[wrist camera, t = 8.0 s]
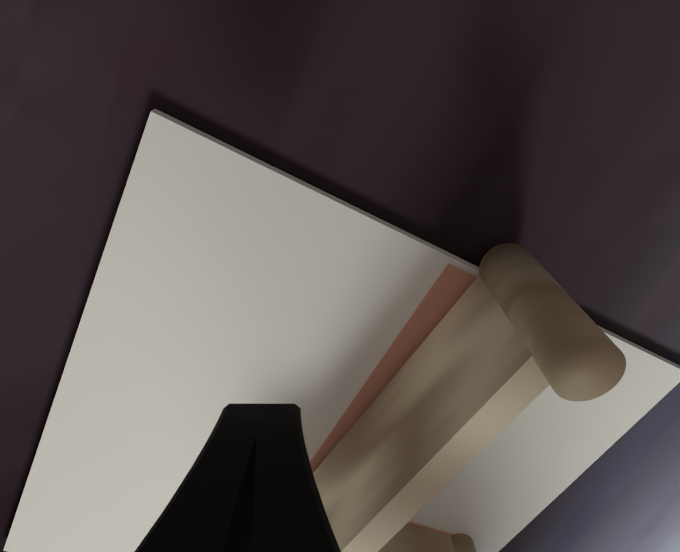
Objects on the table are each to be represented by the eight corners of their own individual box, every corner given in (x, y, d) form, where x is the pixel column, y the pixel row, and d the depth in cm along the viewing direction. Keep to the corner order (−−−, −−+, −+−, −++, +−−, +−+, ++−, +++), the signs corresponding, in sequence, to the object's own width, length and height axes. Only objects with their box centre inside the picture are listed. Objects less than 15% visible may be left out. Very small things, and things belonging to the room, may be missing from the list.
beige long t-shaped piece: (333, 492, 19) (340, 634, 15) (298, 479, 19) (295, 622, 14) (541, 258, 15) (641, 362, 10) (502, 233, 14) (590, 331, 10)
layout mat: (681, 366, 18) (690, 374, 17) (403, 631, 26) (404, 640, 25) (155, 108, 13) (150, 111, 12) (8, 541, 20) (2, 551, 20)
